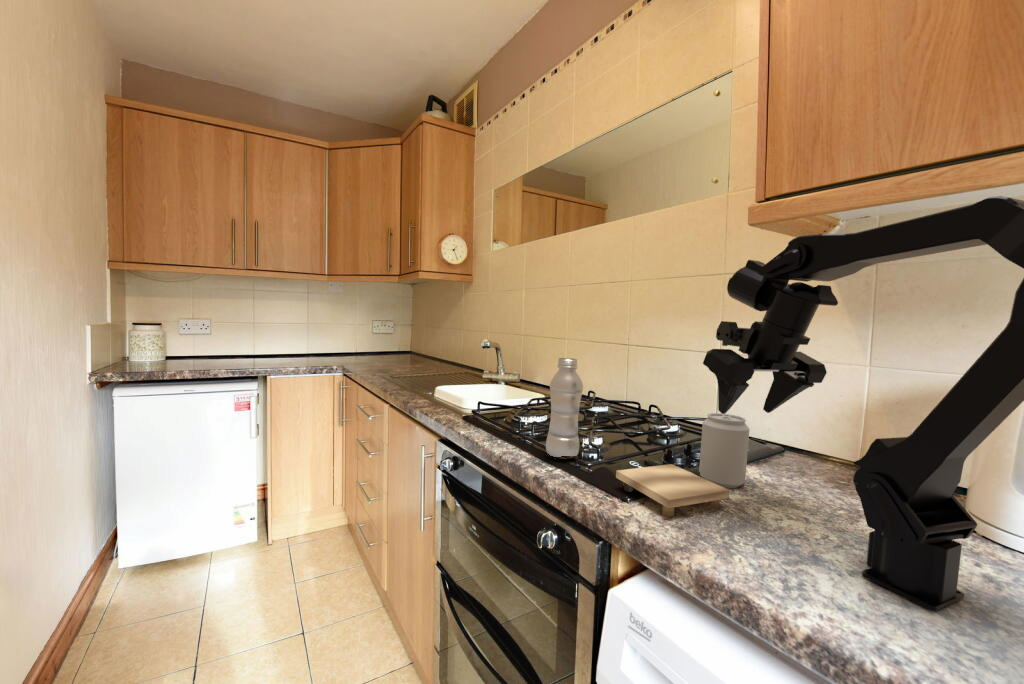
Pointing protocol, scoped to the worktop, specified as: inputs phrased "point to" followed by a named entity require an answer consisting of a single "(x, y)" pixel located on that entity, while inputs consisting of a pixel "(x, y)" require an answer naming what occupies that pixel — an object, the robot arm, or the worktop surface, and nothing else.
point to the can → (724, 449)
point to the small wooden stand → (673, 486)
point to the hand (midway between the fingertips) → (744, 411)
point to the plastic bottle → (564, 410)
